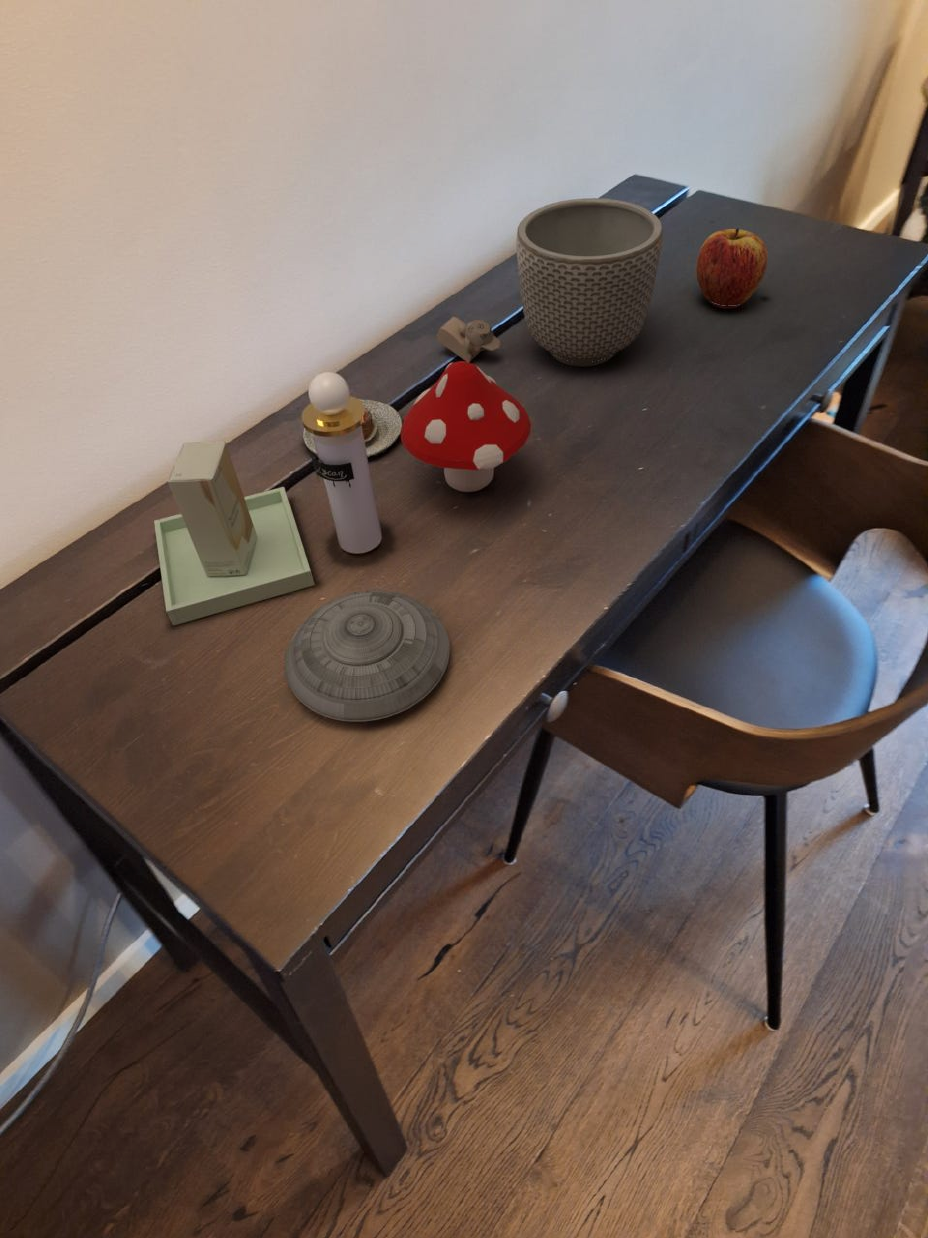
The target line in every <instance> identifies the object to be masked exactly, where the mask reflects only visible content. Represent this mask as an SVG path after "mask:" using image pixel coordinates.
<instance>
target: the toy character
mask: <svg viewBox="0 0 928 1238" xmlns="http://www.w3.org/2000/svg"><path fill="white" fill-rule="evenodd" d="M466 323H467V324H466ZM466 323H465V322H463V321H462V320H461V319H460V318H458V317H455V316H452V317H451V318H450V319H449V320H447V321H446V322H445V323H444V324H443V325H442V326H441V327H439V329H438V331H437V335H436V338H435V340H436V341H437V342H438V343H440V344H441V345H443V346H444V347H445V348H447V349H448V350H450V351H451V352H452V353H454V354H455V355H457V356H458V357H460V358H461V359H462V360H463V361H466V362H469V363H471V361H472V360H473V359H474V358H475V357H476V356H477V355H479V354H480V353H481V352H482V351H485V350H487V351H489V352H494V351H497V350H499V349H500V346H501V341H500V340H499V339H498V338H497V337H496V336H495V335H494V332H493V330H492V329H493V328H492V327H491V326H490V325H489V324H488V323H487V322H486V321H484V320H481V319H479V318H478V319H474V320H471V321H469V322H466Z"/></svg>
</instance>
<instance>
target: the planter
mask: <svg viewBox="0 0 928 1238" xmlns="http://www.w3.org/2000/svg"><path fill="white" fill-rule="evenodd" d="M663 238H664V237H663V226H662V222H661V220H660V219H659V217H658V216H657V215H656V214H655V213H653V212H652V211H650V210H649V209H647V208H645V207H643V206H641V205H638V204H636V203H632V202H629V201H625V200H618V199H611V198H602V197H601V198H598V197H597V198H596V197H590V198H586V197H585V198H575V199H568V200H562V201H557V202H553V203H550V204H547V205H544V206H541V207H539V208H537V209H535V210H533V211H531V212H530V213H529V214H527V215H526V216H524V217H523V219H522V220H521V221H520V222H519V225H518V226H517V230H516V241H515V242H516V243H515V244H516V259H517V270H518V271H517V272H518V283H519V292H520V300H521V306H522V312H523V316H524V317H523V318H524V322H525V325H526V328H527V330H528V332H529V334H530V336H531V338H532V339H533V340H534V341H535V342H536V343H537V345H539V346H540V347H541V348H543V349H544V350H545V351H547V352H549V353H550V354H551V356H552V357H553V358H554V359H555V360H557V361H558V362H560V363H562V364H564V365H568V366H572V367H582V368H585V367H592V366H598V365H601V364H604V363H605V362H607V361H609V360H611V359H612V358H613V357H614V356H615V354H616V353H618V352H620V351H622V350H623V349H625V348H626V347H628V346H629V345H630V344H631V343H632V342H634V340H635V339H636V338H637V337H638V336H639V334H640V332H641V330H642V328H643V326H644V324H645V321H646V318H647V316H648V311H649V308H650V304H651V301H652V296H653V292H654V287H655V283H656V278H657V271H658V266H659V260H660V256H661V252H662V244H663ZM552 353H553V354H552ZM554 354H555V355H557V356H558V357H557V356H555V355H554ZM610 355H611V356H610ZM559 357H560V358H559ZM561 358H562V359H561ZM604 358H605V359H604ZM601 359H602V360H601ZM567 360H568V361H567ZM598 360H599V361H598ZM572 361H573V362H572ZM592 361H593V362H592Z"/></svg>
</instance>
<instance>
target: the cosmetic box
mask: <svg viewBox="0 0 928 1238" xmlns="http://www.w3.org/2000/svg"><path fill="white" fill-rule="evenodd" d="M181 445H182V446H181V448H180V450H179V452H178V455H177V457H176V459H175V461H174V464H173V467H172V469H171V472H170V474H169V477H168V479H167V483H168V486H169V488H170V491H171V494H172V496H173V498H174V501H175V503H176V506H177V509H178V510H179V514H181V515H182V518H183V520H184V522H185V525H186V527H187V530H188V532H189V535H190V537H191V539H192V542H193V544H194V547H195V549H196V551H197V554H198V556H199V559H200V561H201V564H202V566H203V569H204V571H205V574H206V576H232V575H245V574H246V573H247V571H248V568H249V565H250V562H251V558H252V555H253V551H254V547H255V543H256V539H257V534H256V531H255V528H254V525H253V522H252V519H251V517H250V514H249V511H248V508H247V505H246V502H245V499H244V497H245V495H244V493H243V490H242V487H241V484H240V482H239V478H238V475H237V472H236V469H235V466H234V463H233V461H232V457H231V455H230V451H229V448H228V445H227V442H226V441H199V442H197V441H196V442H195V441H194V442H184V443H183V444H181Z"/></svg>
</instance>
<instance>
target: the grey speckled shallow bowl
mask: <svg viewBox="0 0 928 1238" xmlns="http://www.w3.org/2000/svg"><path fill="white" fill-rule="evenodd" d="M358 399H359V400H360V401H361V402H362V403H363V404H364V406H365V411H366V418H365V420H364V422H363V424H362V425H361V426H362V431H363V437H364V442H365V448H366V453H367V458H370V457H371V456H373V457H376V456H378V455H379V454H383V453H385V452H386V451H387V450H388V448H389V447H392V446H393V445H394V444H395V443H397V440H398V438H399V436H401V428H402V425H403V420H402V417H401V415H400V413H399V412H398V411H397V410H396V409H395V408H394V407H392V406H391V405H389V404H387V403H384V402H380V401H378V400H373V399H360V398H358ZM302 436H303V437H302V438H303V440H304V444H305V445H306V447H307V448H308V449H309V450H310V449H311V450H310V452H311V451H312V452H311V453H313V455H315V456H316V457H317V456H318V455H317V451H316V447H315V442H314V438H313V434H312V433H310V432H308V431H307V430H306V429H305V427H303V433H302ZM308 445H309V446H308ZM315 453H316V454H315Z"/></svg>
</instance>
